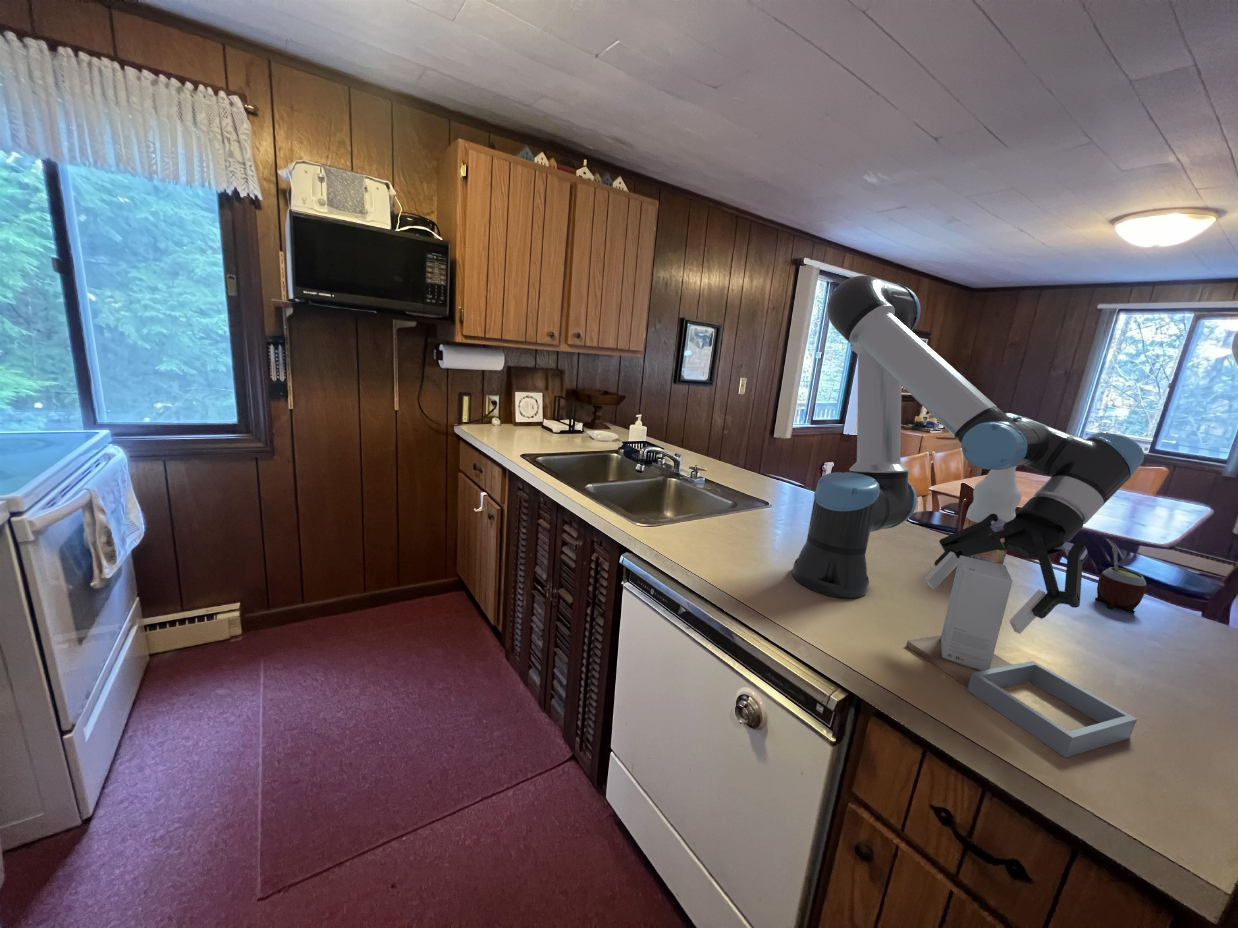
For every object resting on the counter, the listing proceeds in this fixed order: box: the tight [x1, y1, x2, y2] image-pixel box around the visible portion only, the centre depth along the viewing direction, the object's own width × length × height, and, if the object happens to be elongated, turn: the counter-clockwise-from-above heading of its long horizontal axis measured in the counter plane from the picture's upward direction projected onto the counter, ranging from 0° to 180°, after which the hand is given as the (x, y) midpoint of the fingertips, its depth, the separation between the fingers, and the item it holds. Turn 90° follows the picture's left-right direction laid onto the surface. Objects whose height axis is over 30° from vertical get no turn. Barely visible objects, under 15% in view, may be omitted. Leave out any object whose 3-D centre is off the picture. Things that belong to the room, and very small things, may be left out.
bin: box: [966, 660, 1138, 759], centre depth 68 cm, size 13×14×3 cm
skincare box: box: [940, 556, 1013, 671], centre depth 78 cm, size 8×7×16 cm
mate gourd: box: [1094, 537, 1147, 614], centre depth 103 cm, size 8×8×15 cm
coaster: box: [905, 634, 1013, 688], centre depth 80 cm, size 11×12×1 cm
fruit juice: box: [958, 466, 1022, 565], centre depth 117 cm, size 9×9×28 cm
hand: (968, 604), depth 77 cm, fingers open, 13 cm apart
